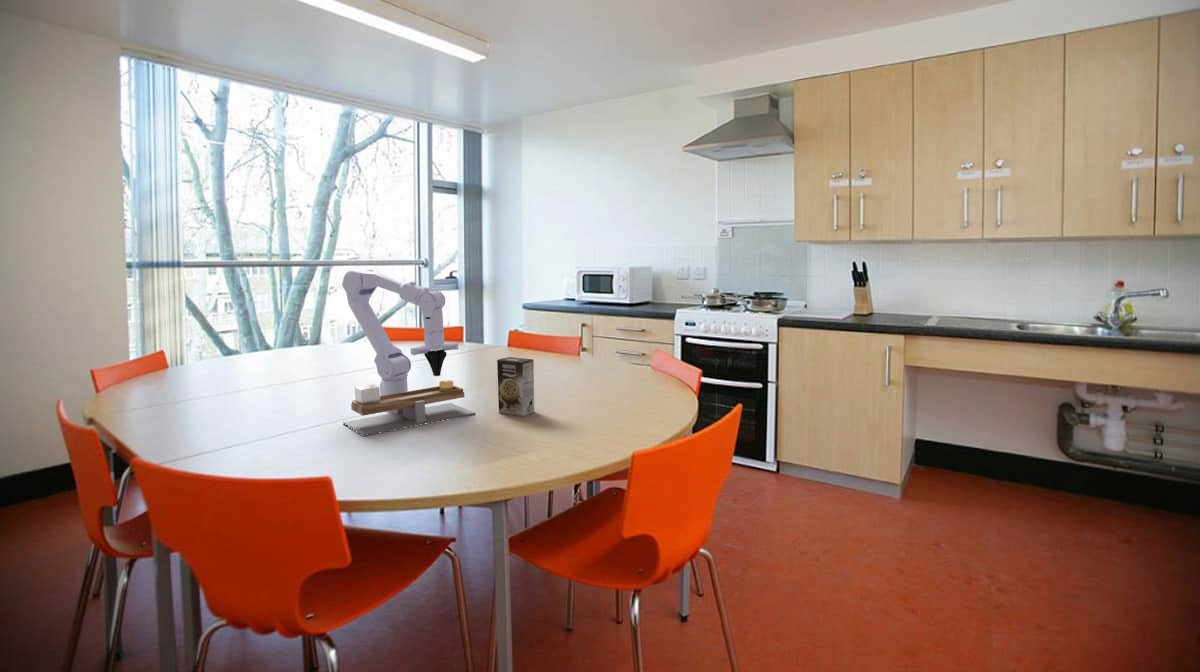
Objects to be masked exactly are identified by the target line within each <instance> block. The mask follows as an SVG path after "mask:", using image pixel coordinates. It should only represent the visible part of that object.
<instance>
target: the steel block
mask: <svg viewBox="0 0 1200 672" xmlns="http://www.w3.org/2000/svg"><path fill="white" fill-rule="evenodd" d="M354 395H355V400H356V402H358V403H360V404H362V405H364V406H365V405H371V404H377V403H380V386H378V385H375V384H366V385H358V386H355V387H354Z"/></svg>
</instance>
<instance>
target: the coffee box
mask: <svg viewBox="0 0 1200 672" xmlns="http://www.w3.org/2000/svg"><path fill="white" fill-rule="evenodd" d="M496 364H497V396H498V397H497V398H498V401H497V402H498V413H499V414H505V415H512V416H520V417H525V416H527V415H529V414H532V413H534V412H535V382H534V381H535V380H534V379H535V378H534V375H535V372H534V369H535V368H534V366H535V365H534V358H522V357H514V356H511V357H510V356H509V357H502V358H499V359H497V360H496Z"/></svg>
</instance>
